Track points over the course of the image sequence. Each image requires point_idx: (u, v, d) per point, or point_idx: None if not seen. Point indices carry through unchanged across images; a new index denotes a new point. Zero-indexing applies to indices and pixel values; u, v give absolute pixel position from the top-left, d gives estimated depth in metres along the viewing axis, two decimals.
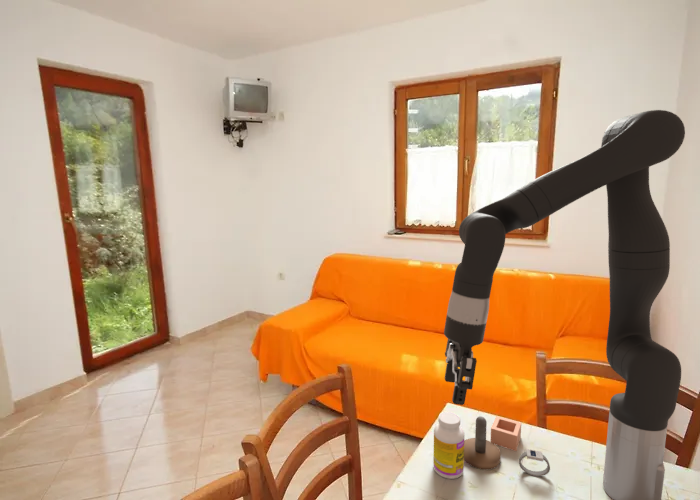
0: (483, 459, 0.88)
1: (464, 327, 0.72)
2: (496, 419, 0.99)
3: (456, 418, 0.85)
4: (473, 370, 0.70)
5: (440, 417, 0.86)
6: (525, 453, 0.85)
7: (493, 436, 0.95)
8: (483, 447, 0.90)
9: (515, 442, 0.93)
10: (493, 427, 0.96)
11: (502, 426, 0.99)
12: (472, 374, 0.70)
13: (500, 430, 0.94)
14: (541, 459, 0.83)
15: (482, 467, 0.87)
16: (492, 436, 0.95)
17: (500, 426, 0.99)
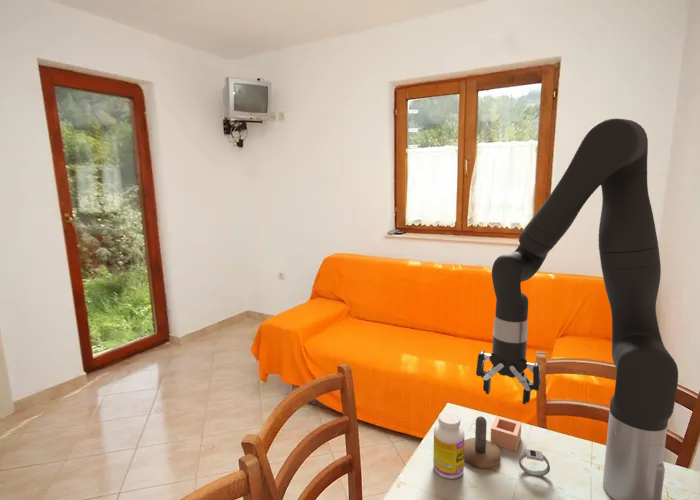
0: (483, 459, 0.88)
1: None
2: (496, 419, 0.99)
3: (456, 418, 0.85)
4: None
5: (440, 417, 0.86)
6: (525, 453, 0.85)
7: (493, 436, 0.95)
8: (483, 447, 0.90)
9: (515, 442, 0.93)
10: (493, 427, 0.96)
11: (502, 426, 0.99)
12: (477, 363, 0.96)
13: (500, 430, 0.94)
14: (541, 459, 0.83)
15: (482, 467, 0.87)
16: (492, 436, 0.95)
17: (500, 426, 0.99)
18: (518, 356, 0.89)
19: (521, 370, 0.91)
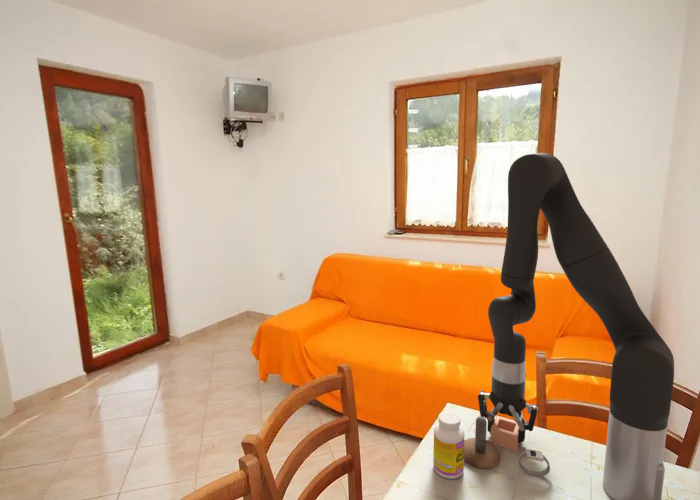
0: (483, 459, 0.88)
1: None
2: (496, 419, 0.99)
3: (456, 418, 0.85)
4: None
5: (440, 417, 0.86)
6: (525, 453, 0.85)
7: (493, 436, 0.95)
8: (483, 447, 0.90)
9: (515, 442, 0.93)
10: (493, 427, 0.96)
11: (502, 426, 0.99)
12: (479, 404, 0.98)
13: (500, 430, 0.94)
14: (541, 459, 0.83)
15: (482, 467, 0.87)
16: (492, 436, 0.95)
17: (500, 426, 0.99)
18: (517, 396, 0.91)
19: (520, 409, 0.93)
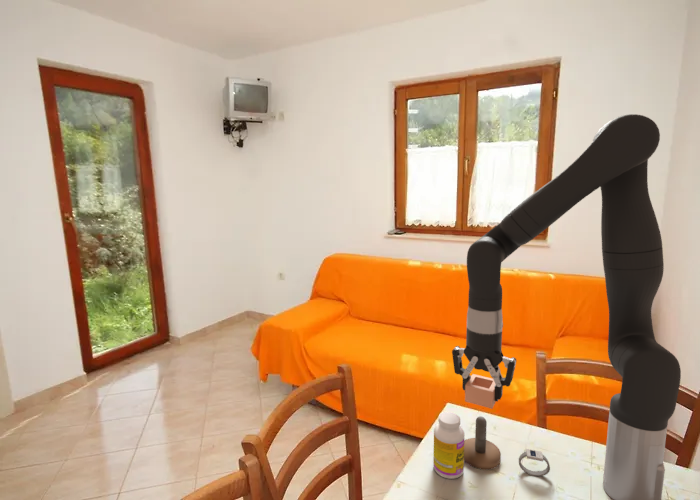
0: (483, 459, 0.88)
1: None
2: (472, 377, 0.91)
3: (456, 418, 0.85)
4: (453, 357, 0.90)
5: (440, 417, 0.86)
6: (525, 453, 0.85)
7: (468, 393, 0.88)
8: (483, 447, 0.90)
9: (491, 399, 0.85)
10: (468, 384, 0.88)
11: (478, 384, 0.91)
12: None
13: (475, 387, 0.87)
14: (541, 459, 0.83)
15: (482, 467, 0.87)
16: (467, 394, 0.88)
17: (476, 384, 0.91)
18: (492, 348, 0.83)
19: (496, 363, 0.85)
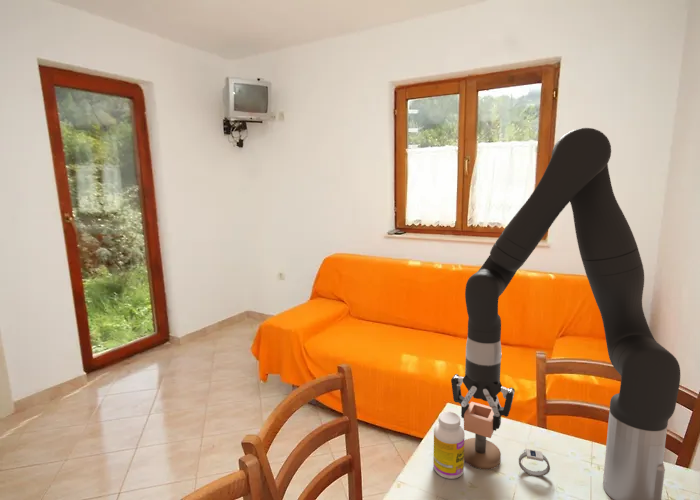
0: (483, 459, 0.88)
1: None
2: (471, 405, 0.92)
3: (456, 418, 0.85)
4: (452, 386, 0.91)
5: (440, 417, 0.86)
6: (525, 453, 0.85)
7: (466, 422, 0.89)
8: (483, 447, 0.90)
9: (489, 428, 0.86)
10: (466, 413, 0.89)
11: (477, 412, 0.92)
12: None
13: (474, 416, 0.88)
14: (541, 459, 0.83)
15: (482, 467, 0.87)
16: (465, 422, 0.89)
17: (475, 412, 0.92)
18: (491, 379, 0.84)
19: (495, 393, 0.86)
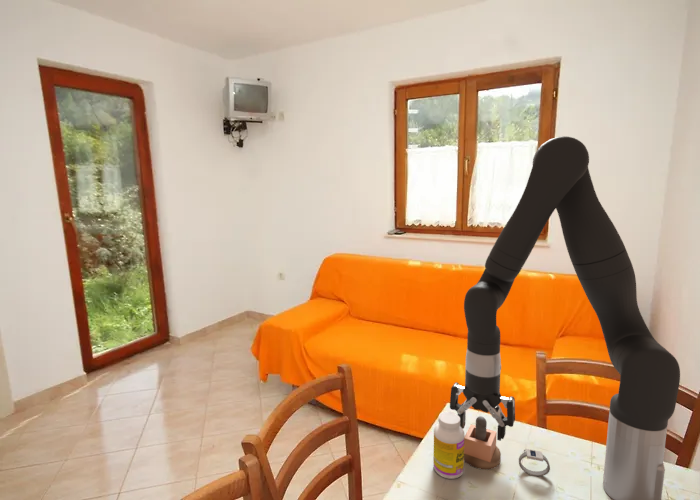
0: None
1: None
2: (470, 428, 0.93)
3: (456, 418, 0.85)
4: (451, 393, 0.92)
5: (440, 417, 0.86)
6: (525, 453, 0.85)
7: (466, 446, 0.90)
8: None
9: (489, 453, 0.87)
10: (466, 436, 0.90)
11: None
12: None
13: (473, 440, 0.89)
14: (541, 459, 0.83)
15: (482, 467, 0.87)
16: (465, 446, 0.90)
17: None
18: (490, 391, 0.85)
19: (495, 405, 0.87)
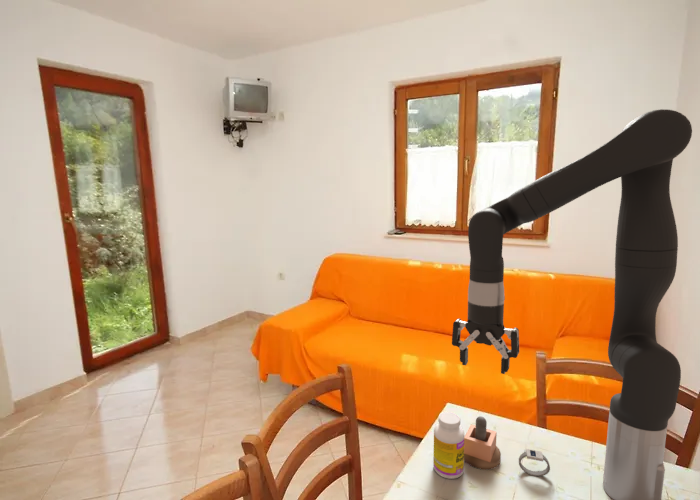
0: None
1: None
2: (470, 428, 0.93)
3: (456, 418, 0.85)
4: (453, 329, 0.90)
5: (440, 417, 0.86)
6: (525, 453, 0.85)
7: (466, 446, 0.90)
8: None
9: (489, 453, 0.87)
10: (466, 436, 0.90)
11: None
12: None
13: (473, 440, 0.89)
14: (541, 459, 0.83)
15: (482, 467, 0.87)
16: (465, 446, 0.90)
17: None
18: (494, 321, 0.82)
19: (498, 336, 0.84)
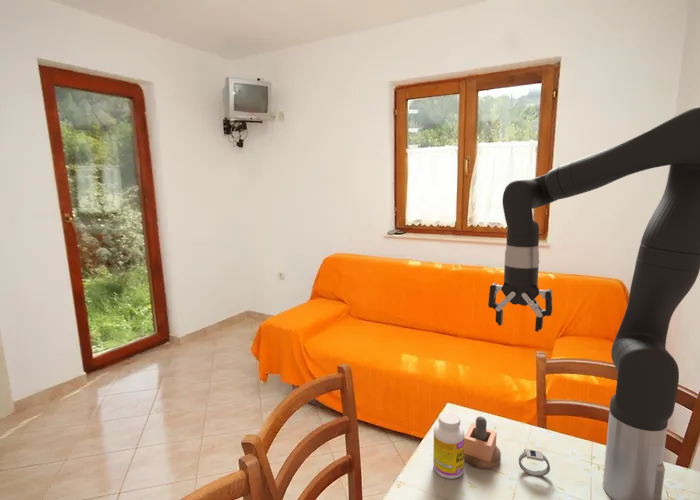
0: None
1: None
2: (470, 428, 0.93)
3: (456, 418, 0.85)
4: None
5: (440, 417, 0.86)
6: (525, 453, 0.85)
7: (466, 446, 0.90)
8: None
9: (489, 453, 0.87)
10: (466, 436, 0.90)
11: None
12: (489, 295, 0.98)
13: (473, 440, 0.89)
14: (541, 459, 0.83)
15: (482, 467, 0.87)
16: (465, 446, 0.90)
17: None
18: (530, 282, 0.90)
19: (533, 297, 0.92)
